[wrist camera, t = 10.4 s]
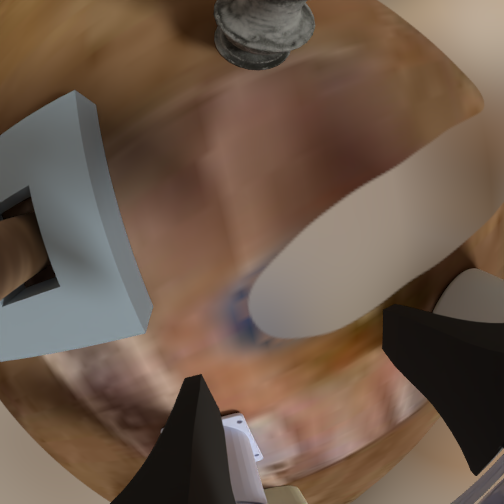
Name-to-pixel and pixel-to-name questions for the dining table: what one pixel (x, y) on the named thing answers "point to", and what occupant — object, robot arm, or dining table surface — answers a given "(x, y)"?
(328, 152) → the dining table surface
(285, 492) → the reusable coffee cup
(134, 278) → the socket block
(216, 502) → the robot arm
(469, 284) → the cylinder vase
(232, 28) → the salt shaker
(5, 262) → the walnut peg
